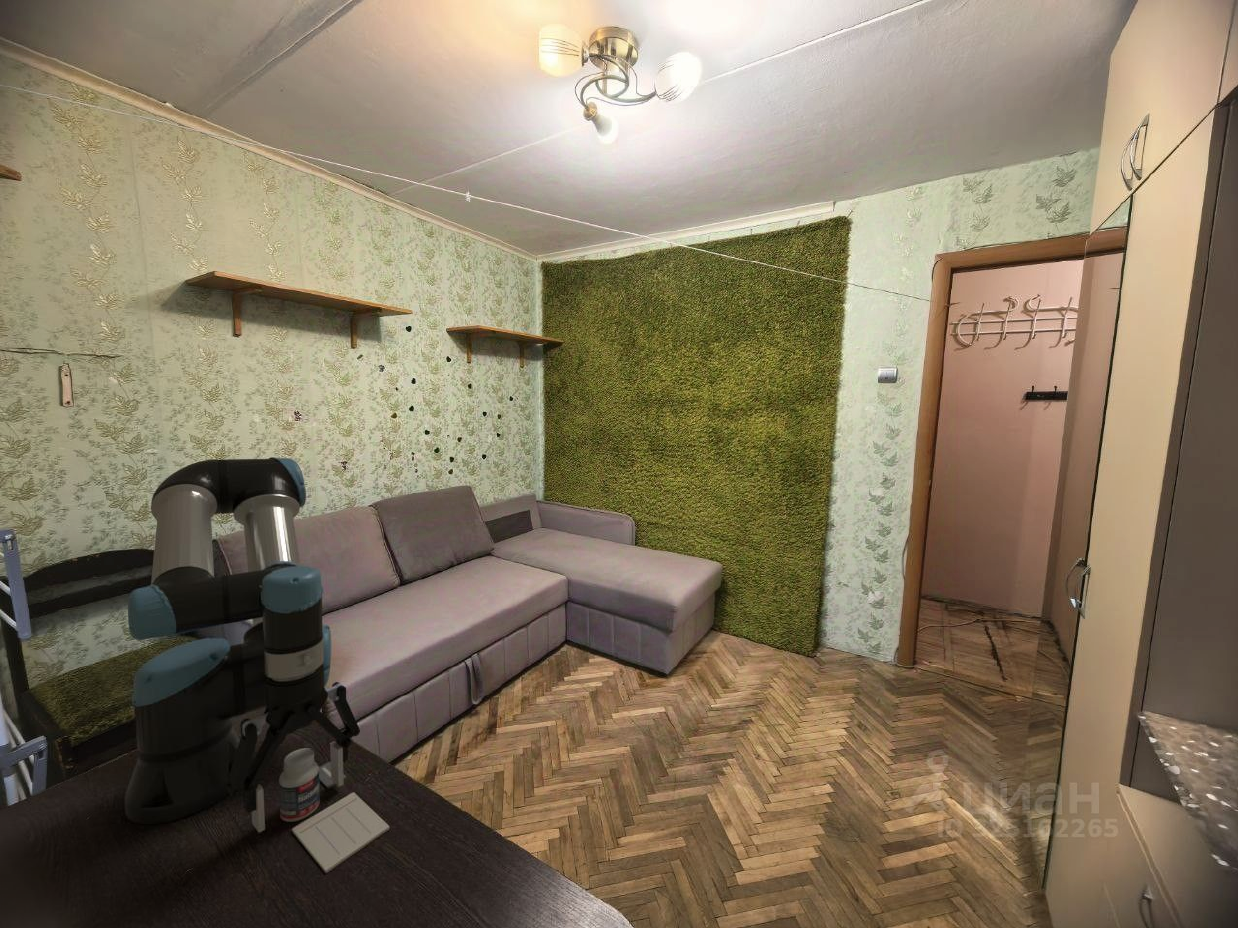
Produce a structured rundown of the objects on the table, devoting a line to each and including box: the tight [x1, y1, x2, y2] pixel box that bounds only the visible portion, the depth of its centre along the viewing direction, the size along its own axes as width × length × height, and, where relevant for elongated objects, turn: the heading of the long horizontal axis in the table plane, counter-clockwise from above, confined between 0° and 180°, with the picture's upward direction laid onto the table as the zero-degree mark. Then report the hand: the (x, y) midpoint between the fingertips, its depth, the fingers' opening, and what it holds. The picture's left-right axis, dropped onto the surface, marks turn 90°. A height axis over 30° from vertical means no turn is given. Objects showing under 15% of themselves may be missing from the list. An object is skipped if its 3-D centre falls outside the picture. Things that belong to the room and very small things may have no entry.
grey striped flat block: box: [319, 761, 348, 789], centre depth 84 cm, size 6×3×1 cm, turn 54°
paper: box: [291, 792, 390, 874], centre depth 73 cm, size 11×9×1 cm
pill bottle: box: [278, 747, 321, 823], centre depth 76 cm, size 5×5×9 cm
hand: (300, 802), depth 76 cm, fingers open, 10 cm apart
